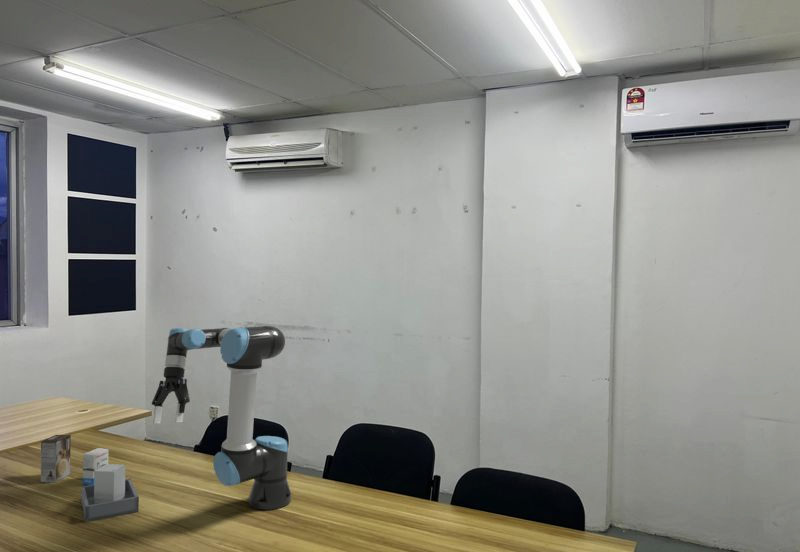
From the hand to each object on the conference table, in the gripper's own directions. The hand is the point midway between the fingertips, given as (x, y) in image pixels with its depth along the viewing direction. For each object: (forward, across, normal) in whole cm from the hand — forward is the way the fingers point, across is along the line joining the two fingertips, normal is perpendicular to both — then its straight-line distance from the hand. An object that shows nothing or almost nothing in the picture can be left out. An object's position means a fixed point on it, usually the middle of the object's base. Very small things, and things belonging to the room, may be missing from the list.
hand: (167, 422), depth 213 cm
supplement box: (+28, +6, +15) cm, 32 cm away
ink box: (+22, +32, +6) cm, 39 cm away
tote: (+29, +6, +15) cm, 33 cm away
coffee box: (+20, +47, +14) cm, 53 cm away
